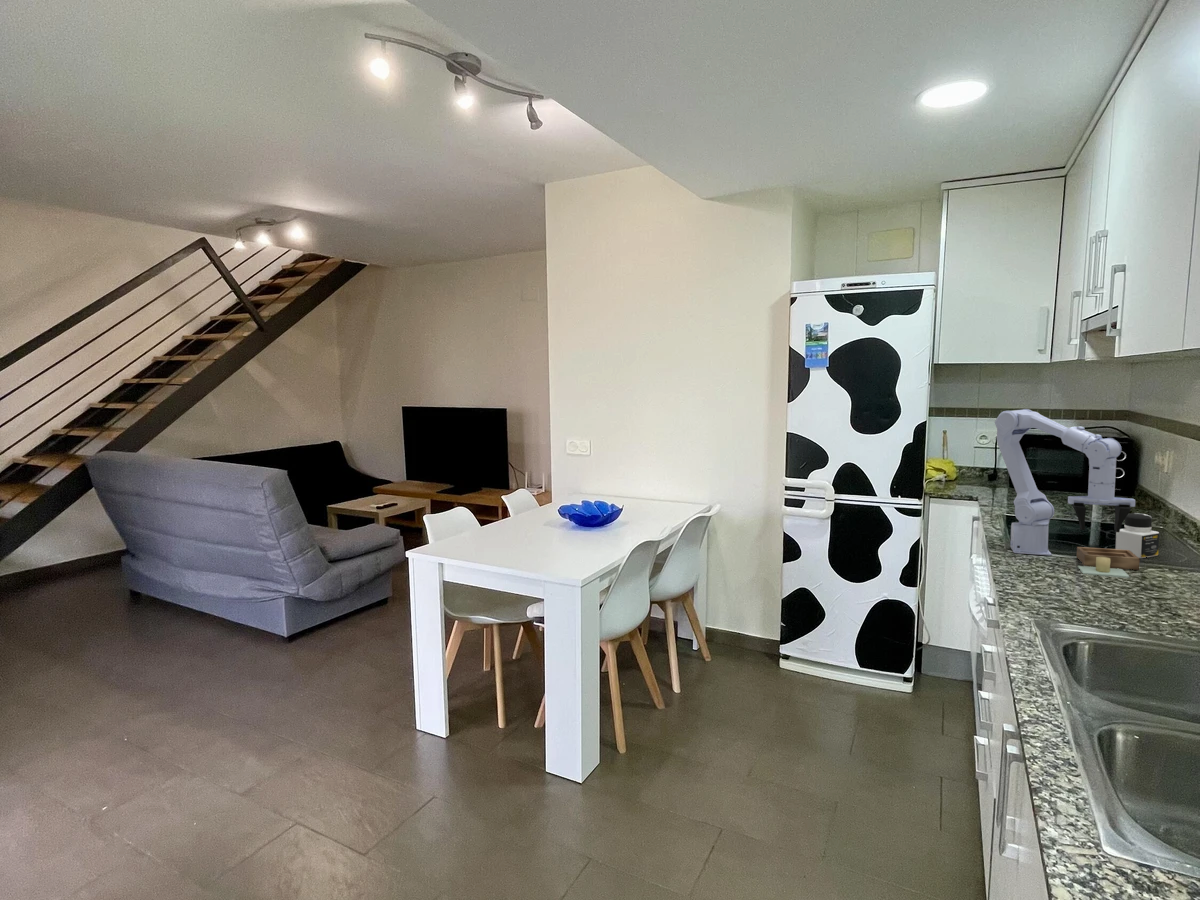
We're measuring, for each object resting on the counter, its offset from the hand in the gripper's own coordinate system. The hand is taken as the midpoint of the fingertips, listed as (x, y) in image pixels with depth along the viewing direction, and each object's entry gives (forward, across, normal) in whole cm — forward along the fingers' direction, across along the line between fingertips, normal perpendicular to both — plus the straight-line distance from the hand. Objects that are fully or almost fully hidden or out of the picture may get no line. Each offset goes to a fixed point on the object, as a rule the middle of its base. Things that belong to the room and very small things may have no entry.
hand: (1099, 530), depth 173 cm
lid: (+11, 0, -6) cm, 12 cm away
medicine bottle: (+10, +13, +17) cm, 23 cm away
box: (+10, +3, +3) cm, 11 cm away
